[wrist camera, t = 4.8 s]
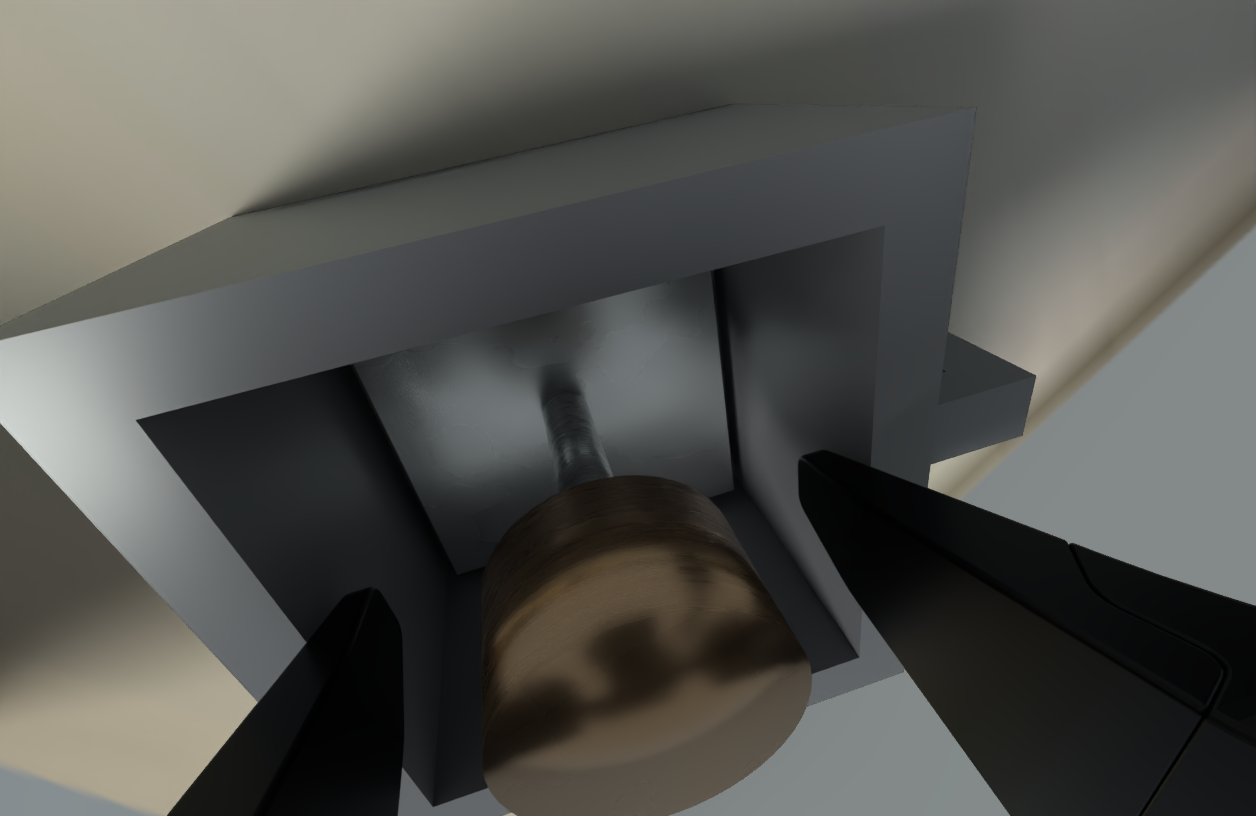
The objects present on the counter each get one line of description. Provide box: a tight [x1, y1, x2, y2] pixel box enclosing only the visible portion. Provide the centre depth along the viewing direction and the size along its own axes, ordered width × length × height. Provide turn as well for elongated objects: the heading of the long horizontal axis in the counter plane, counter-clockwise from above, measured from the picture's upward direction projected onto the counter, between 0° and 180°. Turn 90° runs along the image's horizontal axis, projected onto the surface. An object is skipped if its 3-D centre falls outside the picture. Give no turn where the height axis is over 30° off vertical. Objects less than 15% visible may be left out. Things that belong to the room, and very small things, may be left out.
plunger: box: [353, 271, 812, 816], centre depth 9 cm, size 7×7×8 cm
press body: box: [0, 104, 1036, 816], centre depth 11 cm, size 12×10×6 cm
